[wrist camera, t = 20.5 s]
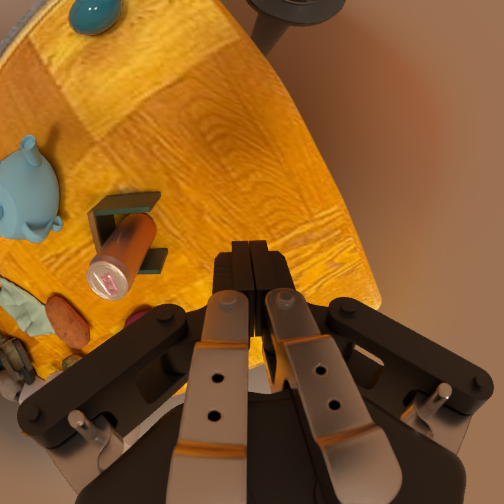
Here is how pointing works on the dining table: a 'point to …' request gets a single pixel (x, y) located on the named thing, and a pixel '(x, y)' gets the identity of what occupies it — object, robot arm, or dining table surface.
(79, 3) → the ball
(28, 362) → the toy
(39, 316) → the cloth
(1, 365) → the planter
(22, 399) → the soap bottle
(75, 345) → the potato
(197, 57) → the dining table surface
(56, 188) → the teapot
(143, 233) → the beverage can
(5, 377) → the baseball cap
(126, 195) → the can caddy
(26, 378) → the caster wheel
